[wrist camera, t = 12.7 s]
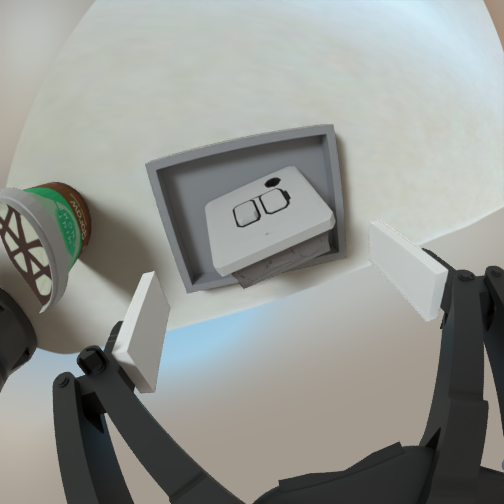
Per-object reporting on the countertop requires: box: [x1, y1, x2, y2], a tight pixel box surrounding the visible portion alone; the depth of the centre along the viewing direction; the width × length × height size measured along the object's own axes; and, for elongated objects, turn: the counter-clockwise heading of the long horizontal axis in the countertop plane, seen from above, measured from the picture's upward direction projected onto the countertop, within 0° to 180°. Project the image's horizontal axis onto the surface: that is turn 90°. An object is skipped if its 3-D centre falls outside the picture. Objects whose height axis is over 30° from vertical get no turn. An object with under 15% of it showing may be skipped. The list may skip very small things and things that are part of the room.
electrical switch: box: [205, 166, 336, 289], centre depth 23 cm, size 9×5×9 cm, turn 114°
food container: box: [0, 182, 91, 313], centre depth 21 cm, size 12×6×10 cm, turn 21°
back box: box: [145, 124, 346, 293], centre depth 26 cm, size 17×14×2 cm
